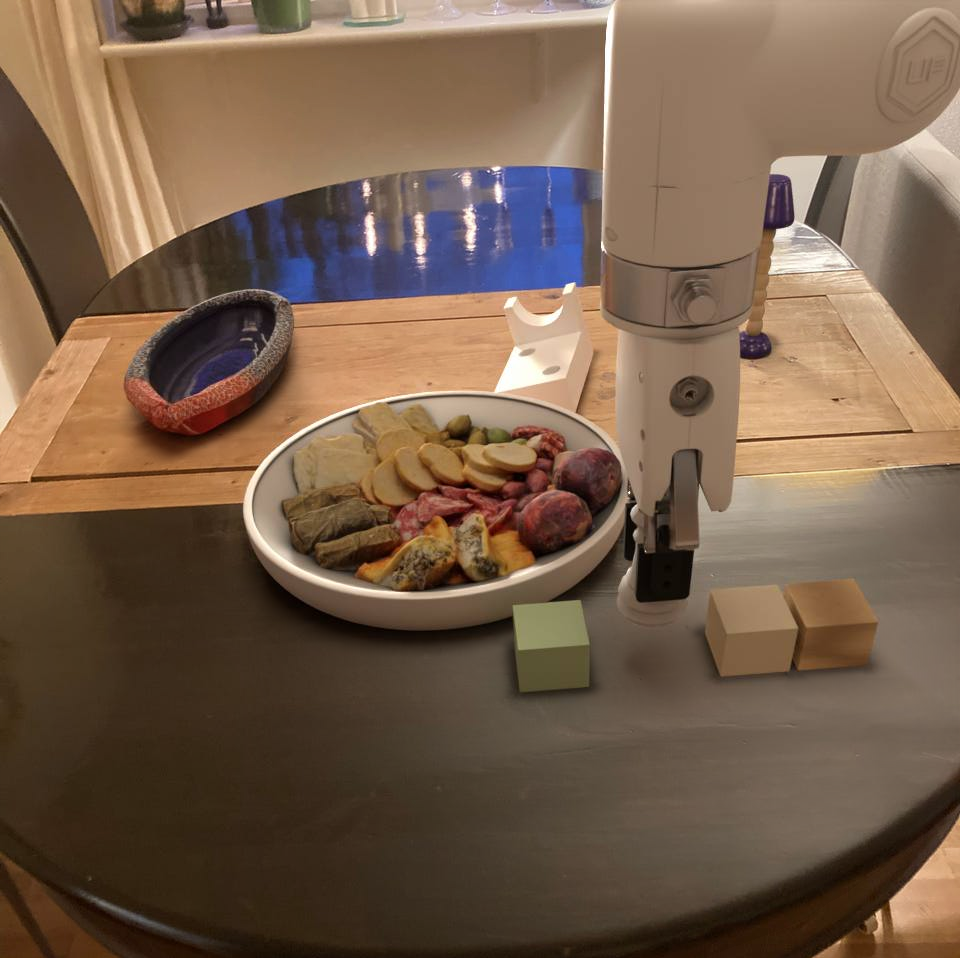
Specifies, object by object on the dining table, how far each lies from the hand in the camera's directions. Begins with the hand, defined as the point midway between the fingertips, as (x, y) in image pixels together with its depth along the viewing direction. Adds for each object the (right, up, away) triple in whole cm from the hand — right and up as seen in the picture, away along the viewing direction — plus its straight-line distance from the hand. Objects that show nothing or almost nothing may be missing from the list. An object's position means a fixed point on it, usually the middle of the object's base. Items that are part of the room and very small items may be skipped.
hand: (655, 574), depth 59 cm
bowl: (-14, +5, +19) cm, 24 cm away
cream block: (+7, -5, +5) cm, 10 cm away
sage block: (-6, -6, +5) cm, 10 cm away
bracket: (-5, +21, +37) cm, 43 cm away
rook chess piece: (0, -2, +2) cm, 3 cm away
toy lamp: (+18, +26, +41) cm, 52 cm away
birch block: (+12, -5, +5) cm, 14 cm away
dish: (-38, +23, +42) cm, 62 cm away
